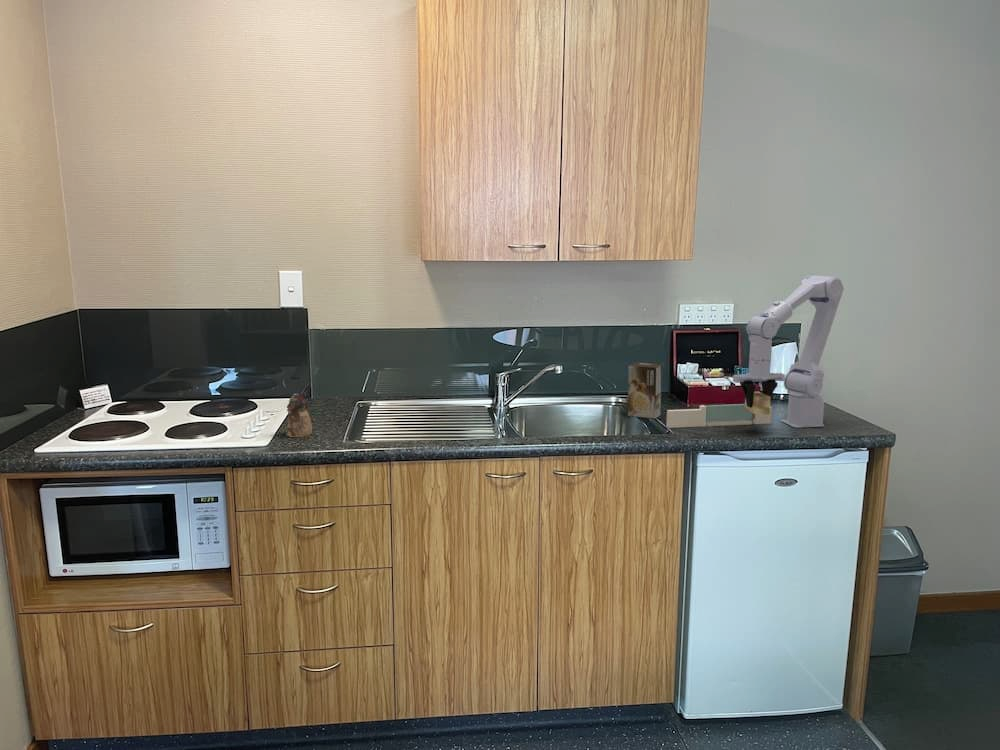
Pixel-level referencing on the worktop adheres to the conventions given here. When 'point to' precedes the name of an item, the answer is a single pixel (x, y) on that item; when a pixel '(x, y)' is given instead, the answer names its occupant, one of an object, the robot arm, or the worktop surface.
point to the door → (727, 412)
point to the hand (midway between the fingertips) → (757, 406)
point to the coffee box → (644, 390)
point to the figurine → (298, 417)
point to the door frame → (699, 419)
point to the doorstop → (759, 404)
